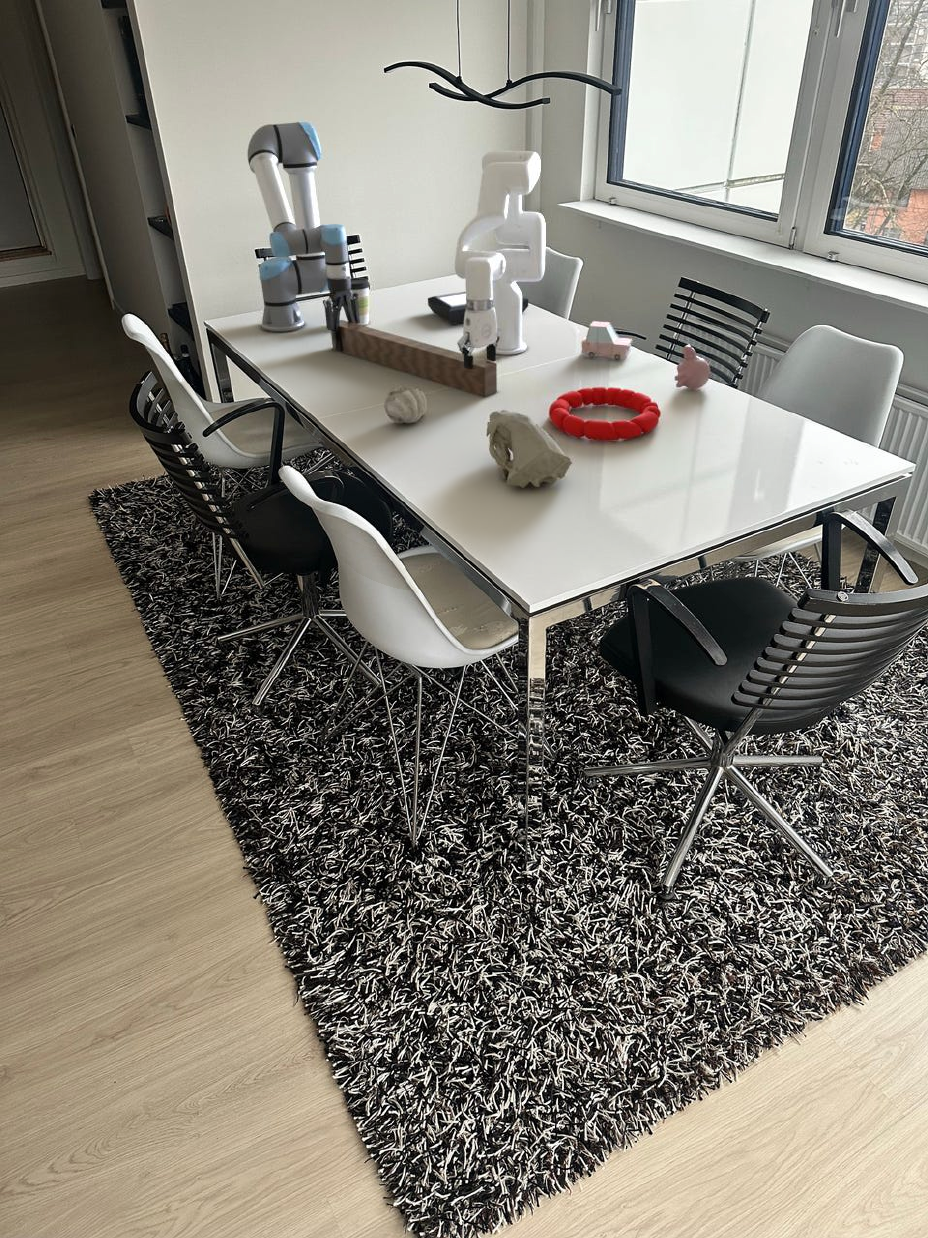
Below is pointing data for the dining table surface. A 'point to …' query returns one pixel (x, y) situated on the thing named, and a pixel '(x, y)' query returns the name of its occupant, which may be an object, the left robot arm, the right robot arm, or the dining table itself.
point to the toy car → (605, 342)
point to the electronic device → (455, 306)
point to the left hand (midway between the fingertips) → (346, 347)
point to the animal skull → (525, 450)
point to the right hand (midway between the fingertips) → (480, 364)
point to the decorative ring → (604, 428)
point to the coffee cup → (361, 297)
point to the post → (418, 358)
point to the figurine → (692, 370)
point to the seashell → (405, 405)
